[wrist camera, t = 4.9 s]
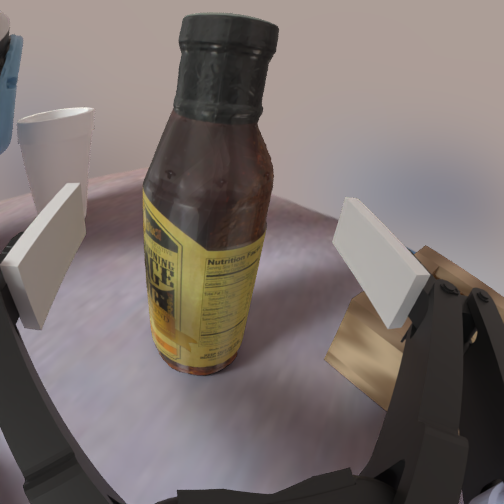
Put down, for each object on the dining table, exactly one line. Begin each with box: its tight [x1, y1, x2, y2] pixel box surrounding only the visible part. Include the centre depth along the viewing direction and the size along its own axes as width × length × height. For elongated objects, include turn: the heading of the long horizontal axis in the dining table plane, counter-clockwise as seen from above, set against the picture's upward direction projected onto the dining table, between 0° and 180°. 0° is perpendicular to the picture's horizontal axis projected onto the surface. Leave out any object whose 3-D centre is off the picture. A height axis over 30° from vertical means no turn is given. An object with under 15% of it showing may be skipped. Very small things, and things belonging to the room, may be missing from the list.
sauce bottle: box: [143, 13, 279, 375], centre depth 16 cm, size 7×6×20 cm
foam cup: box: [17, 107, 95, 219], centre depth 30 cm, size 10×9×13 cm
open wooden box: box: [324, 246, 504, 435], centre depth 20 cm, size 14×14×6 cm
